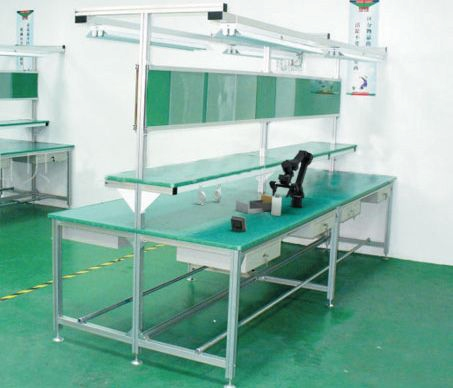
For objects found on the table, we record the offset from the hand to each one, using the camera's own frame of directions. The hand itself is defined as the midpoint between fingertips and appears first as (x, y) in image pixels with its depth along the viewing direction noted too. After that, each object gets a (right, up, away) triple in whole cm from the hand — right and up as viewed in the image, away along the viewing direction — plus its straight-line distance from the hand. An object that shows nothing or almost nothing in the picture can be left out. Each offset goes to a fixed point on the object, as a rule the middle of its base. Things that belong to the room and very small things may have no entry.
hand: (279, 196), depth 412 cm
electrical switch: (-27, -19, -50) cm, 59 cm away
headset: (-45, -5, +25) cm, 51 cm away
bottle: (-2, -11, -1) cm, 12 cm away
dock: (-18, -9, +6) cm, 21 cm away
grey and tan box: (-12, -9, +11) cm, 18 cm away
